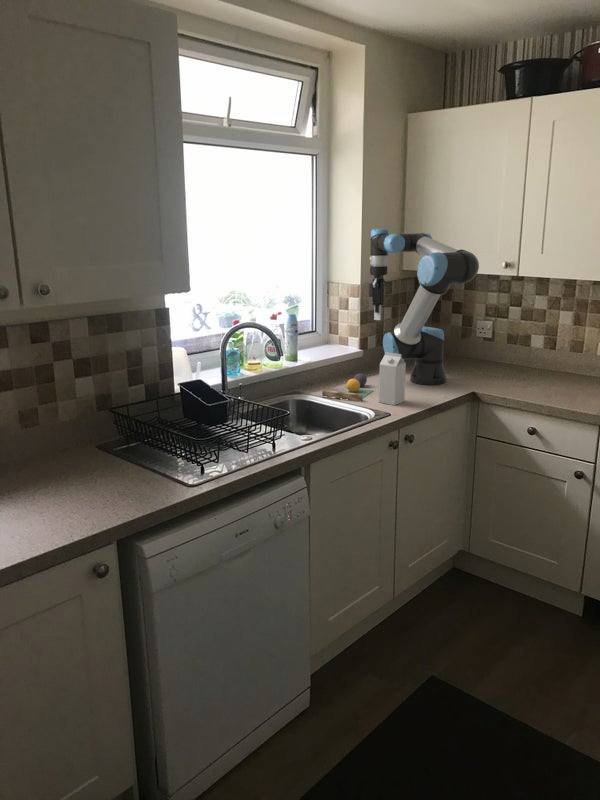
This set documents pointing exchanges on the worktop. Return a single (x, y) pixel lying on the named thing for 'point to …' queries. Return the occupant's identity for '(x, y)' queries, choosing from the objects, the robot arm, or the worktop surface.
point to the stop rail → (343, 395)
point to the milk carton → (392, 379)
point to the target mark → (362, 392)
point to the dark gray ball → (361, 379)
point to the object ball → (353, 385)
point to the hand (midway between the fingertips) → (377, 319)
